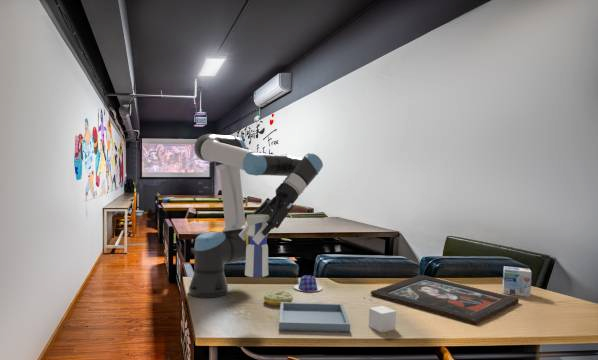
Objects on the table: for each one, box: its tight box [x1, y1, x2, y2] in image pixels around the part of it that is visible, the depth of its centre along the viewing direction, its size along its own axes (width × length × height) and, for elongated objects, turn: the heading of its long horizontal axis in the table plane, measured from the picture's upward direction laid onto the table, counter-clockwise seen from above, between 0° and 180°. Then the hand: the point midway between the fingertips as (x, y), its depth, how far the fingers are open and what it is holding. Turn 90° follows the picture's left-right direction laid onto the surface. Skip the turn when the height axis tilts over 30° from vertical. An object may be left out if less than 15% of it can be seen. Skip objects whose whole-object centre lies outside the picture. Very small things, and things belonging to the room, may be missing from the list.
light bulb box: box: [502, 265, 533, 298], centre depth 182 cm, size 11×7×11 cm, turn 68°
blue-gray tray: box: [278, 301, 351, 334], centre depth 140 cm, size 22×20×3 cm
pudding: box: [293, 275, 323, 293], centre depth 178 cm, size 12×12×5 cm
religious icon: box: [370, 274, 520, 326], centre depth 170 cm, size 40×45×3 cm
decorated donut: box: [263, 290, 294, 307], centre depth 158 cm, size 10×11×4 cm
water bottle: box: [244, 198, 271, 278], centre depth 137 cm, size 8×9×25 cm
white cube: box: [368, 305, 397, 333], centre depth 136 cm, size 6×6×6 cm
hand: (248, 239), depth 135 cm, fingers closed on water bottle, 8 cm apart
